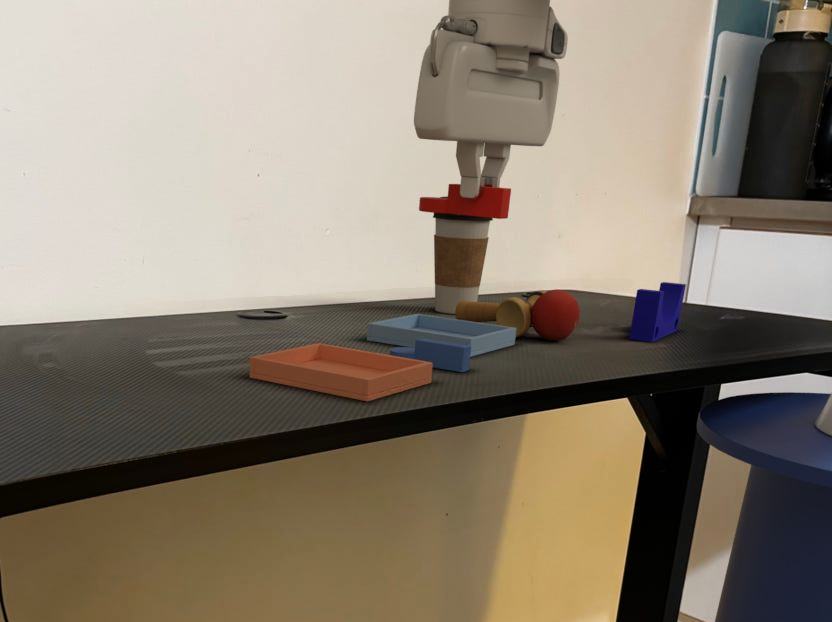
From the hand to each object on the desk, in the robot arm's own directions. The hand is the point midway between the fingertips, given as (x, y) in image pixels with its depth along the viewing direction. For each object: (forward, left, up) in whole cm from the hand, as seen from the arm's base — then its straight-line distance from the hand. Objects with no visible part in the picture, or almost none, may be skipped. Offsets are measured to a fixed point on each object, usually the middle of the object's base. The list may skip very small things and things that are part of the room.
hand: (479, 197), depth 92 cm
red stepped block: (+2, 0, -2) cm, 2 cm away
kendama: (+9, -28, -17) cm, 34 cm away
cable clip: (-4, -42, -17) cm, 45 cm away
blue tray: (+12, -15, -17) cm, 25 cm away
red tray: (+8, +11, -17) cm, 21 cm away
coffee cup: (+24, -39, -17) cm, 49 cm away
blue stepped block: (+6, -2, -17) cm, 18 cm away
